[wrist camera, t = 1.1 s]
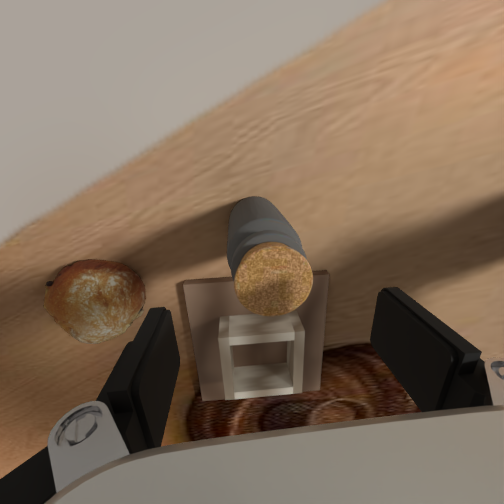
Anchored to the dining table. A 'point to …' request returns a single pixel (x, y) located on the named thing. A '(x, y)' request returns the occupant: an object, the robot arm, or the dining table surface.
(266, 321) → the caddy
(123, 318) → the bread roll
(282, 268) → the bottle
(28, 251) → the dining table surface
